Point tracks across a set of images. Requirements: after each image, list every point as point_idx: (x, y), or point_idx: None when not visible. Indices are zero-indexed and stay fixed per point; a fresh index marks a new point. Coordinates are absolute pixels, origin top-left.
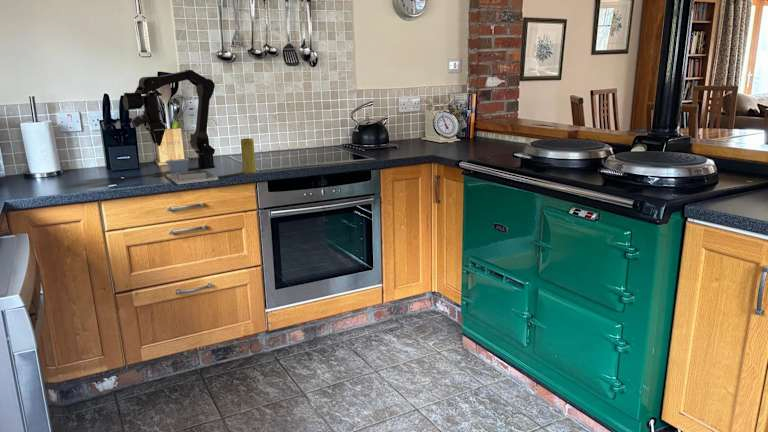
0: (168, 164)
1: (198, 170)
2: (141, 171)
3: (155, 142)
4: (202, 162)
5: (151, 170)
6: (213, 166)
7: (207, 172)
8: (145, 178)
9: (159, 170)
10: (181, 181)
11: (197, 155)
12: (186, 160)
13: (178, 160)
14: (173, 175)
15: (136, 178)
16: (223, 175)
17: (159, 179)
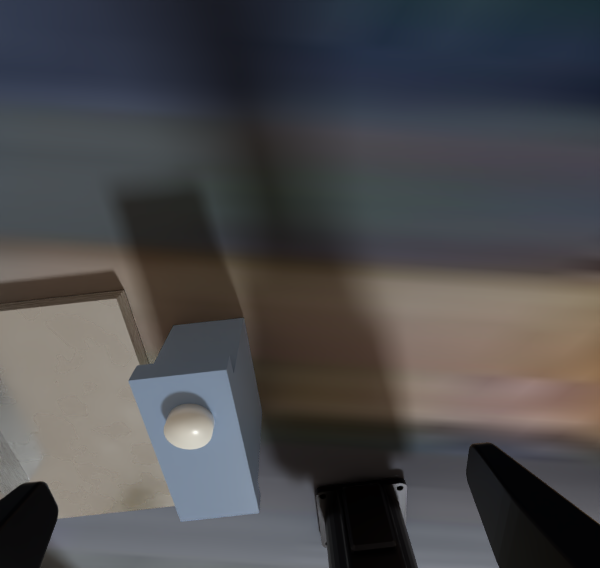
0: (232, 363)
1: (2, 496)
2: (523, 113)
3: (477, 480)
4: (338, 532)
5: (507, 204)
6: (324, 541)
7: (91, 509)
8: (110, 121)
9: (457, 264)
10: None
11: (400, 565)
12: (176, 501)
13: (173, 459)
14: (43, 340)
15: (144, 31)
16: (48, 547)
17: (18, 232)
